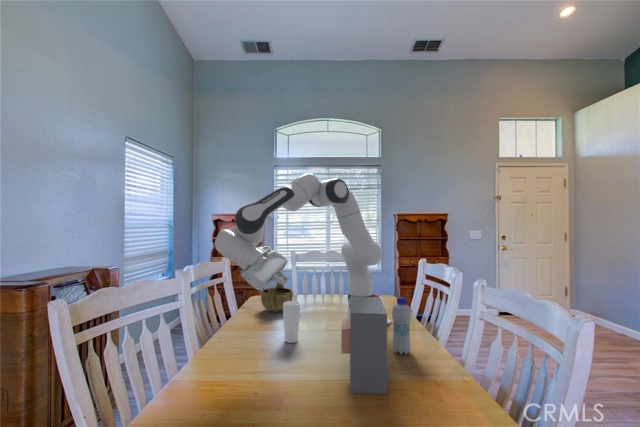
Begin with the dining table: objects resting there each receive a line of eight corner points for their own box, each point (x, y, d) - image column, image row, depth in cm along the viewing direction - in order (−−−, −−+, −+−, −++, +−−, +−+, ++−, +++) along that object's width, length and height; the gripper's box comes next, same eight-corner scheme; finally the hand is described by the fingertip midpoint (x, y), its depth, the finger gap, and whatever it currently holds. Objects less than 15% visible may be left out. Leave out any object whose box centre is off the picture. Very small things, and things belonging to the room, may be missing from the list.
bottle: (411, 350, 117) (411, 296, 118) (410, 357, 111) (410, 300, 111) (392, 347, 119) (393, 294, 120) (390, 354, 113) (390, 298, 114)
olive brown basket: (267, 304, 180) (267, 278, 181) (296, 306, 178) (296, 279, 179) (254, 316, 158) (255, 286, 159) (287, 317, 156) (288, 287, 157)
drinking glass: (297, 344, 121) (297, 305, 122) (280, 343, 123) (280, 304, 123) (301, 338, 128) (301, 301, 128) (285, 337, 129) (286, 300, 130)
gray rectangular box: (350, 392, 88) (350, 312, 88) (350, 361, 107) (350, 296, 108) (386, 394, 87) (386, 313, 87) (379, 362, 107) (379, 297, 107)
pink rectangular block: (341, 353, 93) (341, 328, 94) (342, 341, 103) (342, 319, 103) (358, 354, 93) (358, 329, 93) (357, 342, 102) (357, 320, 102)
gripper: (240, 265, 101) (276, 289, 99) (270, 244, 120) (300, 263, 117) (234, 280, 103) (269, 303, 101) (264, 257, 122) (294, 276, 120)
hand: (286, 282), depth 109 cm, fingers closed
